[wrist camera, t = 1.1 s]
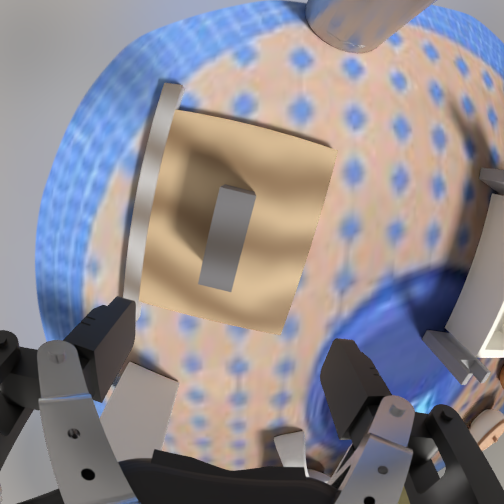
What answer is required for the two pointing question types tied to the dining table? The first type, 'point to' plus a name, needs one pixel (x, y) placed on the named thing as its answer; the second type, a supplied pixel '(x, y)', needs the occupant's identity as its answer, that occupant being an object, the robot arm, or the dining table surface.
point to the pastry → (502, 377)
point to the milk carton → (138, 413)
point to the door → (223, 217)
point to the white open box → (478, 299)
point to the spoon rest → (296, 453)
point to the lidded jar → (487, 427)
